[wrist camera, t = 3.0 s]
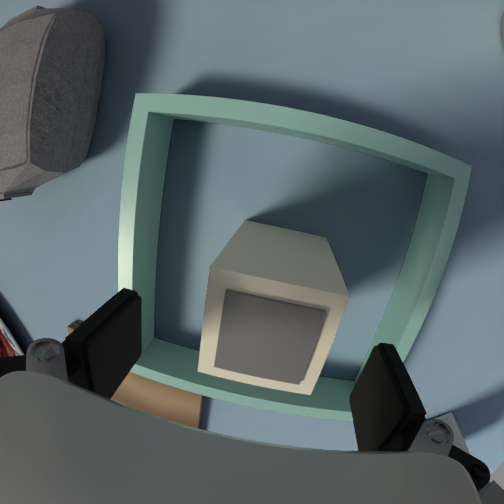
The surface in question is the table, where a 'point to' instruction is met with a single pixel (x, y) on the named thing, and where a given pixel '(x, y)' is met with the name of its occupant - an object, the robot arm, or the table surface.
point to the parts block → (272, 308)
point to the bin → (300, 125)
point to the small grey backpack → (47, 95)
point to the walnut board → (158, 398)
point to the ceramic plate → (8, 342)
